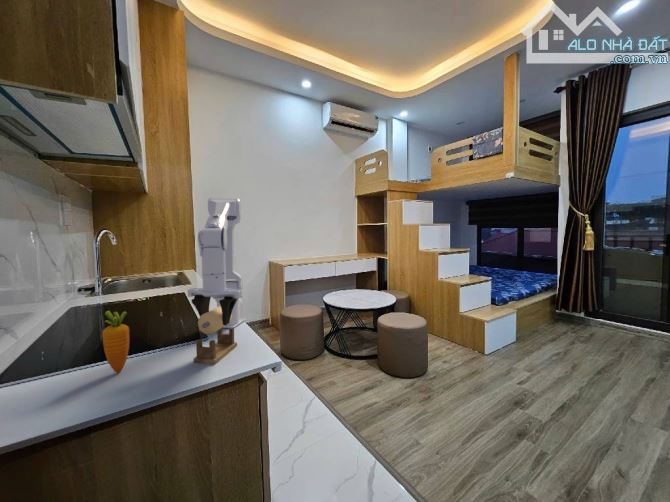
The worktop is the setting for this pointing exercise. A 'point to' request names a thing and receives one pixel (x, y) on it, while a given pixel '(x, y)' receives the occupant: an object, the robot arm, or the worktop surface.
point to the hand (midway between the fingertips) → (215, 323)
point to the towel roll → (211, 321)
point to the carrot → (116, 341)
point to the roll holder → (215, 348)
